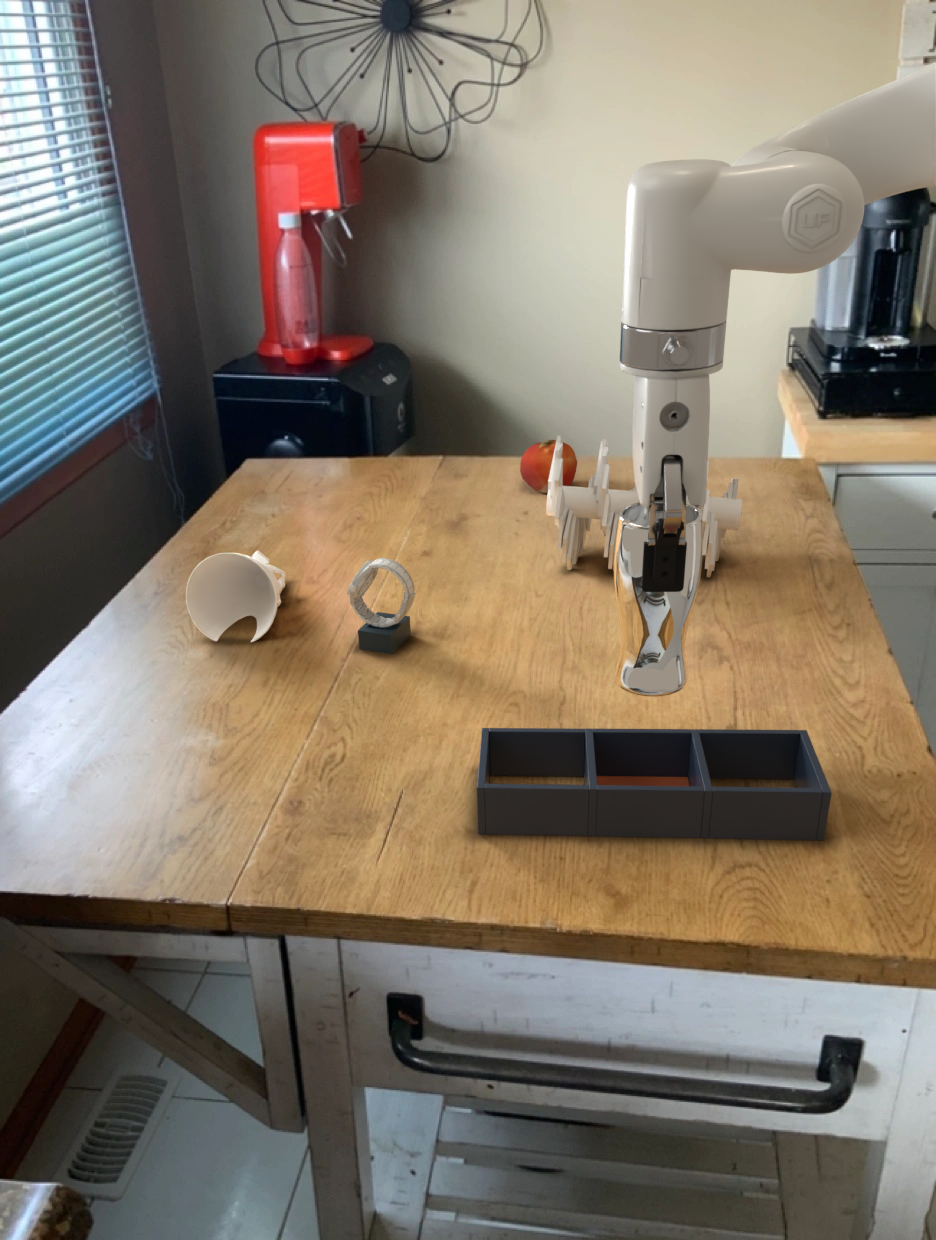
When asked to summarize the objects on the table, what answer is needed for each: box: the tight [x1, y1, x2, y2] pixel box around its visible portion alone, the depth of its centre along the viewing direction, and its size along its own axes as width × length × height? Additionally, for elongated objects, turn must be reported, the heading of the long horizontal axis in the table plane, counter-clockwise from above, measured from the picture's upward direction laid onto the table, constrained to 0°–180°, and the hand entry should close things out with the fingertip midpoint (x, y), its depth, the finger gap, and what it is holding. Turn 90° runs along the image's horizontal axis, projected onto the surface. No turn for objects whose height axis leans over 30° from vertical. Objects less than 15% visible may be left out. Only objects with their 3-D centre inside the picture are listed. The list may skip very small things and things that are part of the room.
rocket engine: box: [185, 549, 287, 643], centre depth 146 cm, size 12×12×18 cm
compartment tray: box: [476, 727, 833, 841], centre depth 102 cm, size 30×10×6 cm, turn 84°
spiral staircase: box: [545, 435, 743, 578], centre depth 149 cm, size 18×18×25 cm
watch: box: [346, 557, 416, 655], centre depth 134 cm, size 6×8×11 cm
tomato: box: [519, 439, 578, 494], centre depth 182 cm, size 9×9×8 cm
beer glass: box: [613, 500, 703, 697], centre depth 93 cm, size 7×7×15 cm
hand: (657, 569), depth 92 cm, fingers closed on beer glass, 7 cm apart
